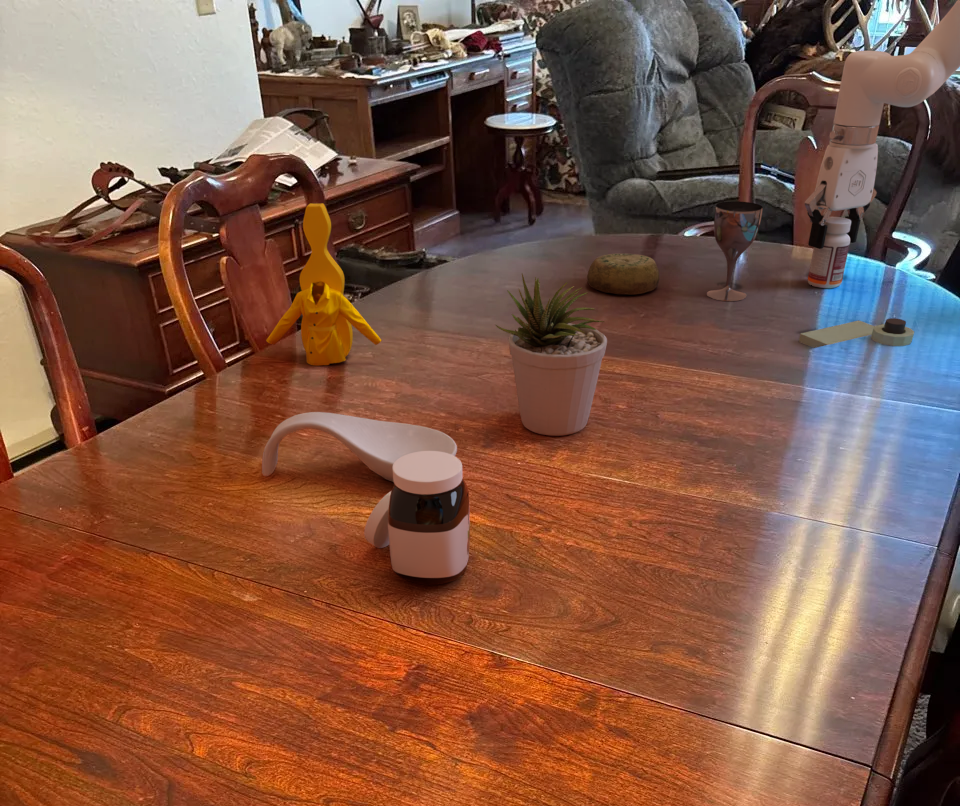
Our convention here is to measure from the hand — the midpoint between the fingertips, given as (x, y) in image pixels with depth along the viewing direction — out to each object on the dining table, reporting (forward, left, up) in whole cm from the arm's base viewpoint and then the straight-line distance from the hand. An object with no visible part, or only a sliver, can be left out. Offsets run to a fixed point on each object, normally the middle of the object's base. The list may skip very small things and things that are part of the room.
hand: (832, 243), depth 174 cm
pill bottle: (0, 0, -7) cm, 7 cm away
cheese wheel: (+33, -18, -7) cm, 38 cm away
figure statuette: (+95, -10, -7) cm, 96 cm away
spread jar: (+109, +51, -7) cm, 121 cm away
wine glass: (+20, -4, -7) cm, 22 cm away
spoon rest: (+106, +29, -7) cm, 110 cm away
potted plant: (+78, +28, -7) cm, 83 cm away
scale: (+20, +27, -7) cm, 34 cm away
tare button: (+16, +31, -5) cm, 35 cm away
